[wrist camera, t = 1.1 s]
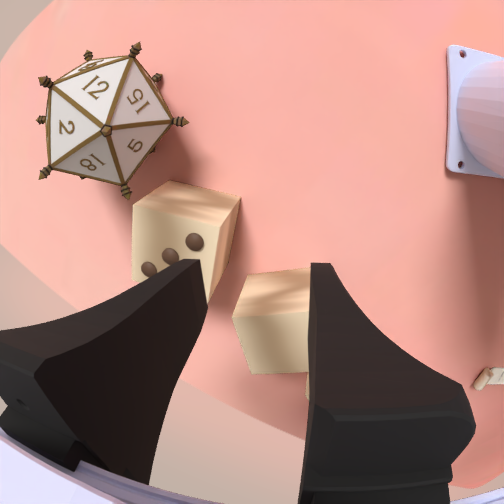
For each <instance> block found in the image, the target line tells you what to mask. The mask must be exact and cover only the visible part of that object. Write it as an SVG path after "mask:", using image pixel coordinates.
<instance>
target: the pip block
mask: <svg viewBox="0 0 504 504" xmlns="http://www.w3.org/2000/svg"><path fill="white" fill-rule="evenodd" d="M240 199H241V197H240V196H236V195H232V194H227V193H223V192H219V191H215V190H211V189H206V188H202V187H198V186H193V185H189V184H185V183H180V182H176V181H171V180H169V181H167V182H166V183H164V184H163V185H161V186H160V187H158V188H157V189H155V190H154V191H152V192H151V193H149V194H148V195H146V196H145V197H143V198H142V199H140V200H139V201H138V202H136V203H135V204H133V214H132V280H134V281H137V282H140V283H141V282H143V281H144V280H146V279H148V278H149V277H151V276H153V275H155V274H156V273H158V272H160V271H161V270H163V269H165V268H166V267H168V266H170V265H172V264H174V263H175V262H177V261H179V260H182V259H200V262H201V268H202V275H203V281H204V287H205V293H206V299H207V304H208V302H209V300H210V298H211V296H212V294H213V292H214V290H215V288H216V286H217V284H218V282H219V280H220V278H221V276H222V274H223V272H224V270H225V268H226V266H227V264H228V262H229V257H230V251H231V246H232V241H233V236H234V230H235V225H236V220H237V215H238V210H239V204H240Z"/></svg>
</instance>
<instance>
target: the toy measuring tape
mask: <svg viewBox="0 0 504 504" xmlns="http://www.w3.org/2000/svg"><path fill="white" fill-rule="evenodd" d="M486 384H491V385H492V384H504V368H499V367H497V368H496V367H493V368H492V369H491V370H490V369H489V368H488V367H486V368H485V369H484V370H483V372H482V373H481V374H480V376H479V377H478V378H477V379H476V381H475V382H474V388H475V389H476V390H482V389H483V388H484V387H485V385H486Z"/></svg>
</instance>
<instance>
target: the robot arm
mask: <svg viewBox="0 0 504 504" xmlns="http://www.w3.org/2000/svg"><path fill="white" fill-rule="evenodd" d="M460 51H462V52H463V53H464V58H462V57H461V56H460V54H459V52H460ZM447 67H448V135H447V153H446V167H447V168H448V169H449V170H450V171H452V172H457V173H465V174H474V175H481V176H489V177H496V178H503V179H504V58H503V57H499V56H496V55H493V54H489V53H486V52H482V51H478V50H475V49H471V48H467V47H462V46H458V45H450V46H448V48H447ZM460 161H462V167H461V168H458V163H459V162H460ZM207 310H208V305H207V299H206V293H205V287H204V281H203V275H202V268H201V262H200V259H182V260H179V261H177V262H175V263H174V264H172V265H170V266H168V267H166V268H165V269H163V270H161V271H160V272H158V273H156V274H155V275H153V276H151V277H149V278H148V279H146V280H144V281H143V282H141V283H139V284H137V285H136V286H134V287H132V288H130V289H128V290H126V291H125V292H123V293H121V294H119V295H117V296H115V297H113V298H111V299H109V300H107V301H105V302H103V303H100V304H98V305H96V306H94V307H91V308H89V309H86V310H83V311H81V312H78V313H75V314H72V315H69V316H66V317H63V318H60V319H57V320H53V321H50V322H46V323H41V324H37V325H33V326H27V327H22V328H15V329H8V330H1V331H0V396H1V398H2V399H3V400H4V402H5V403H6V404H7V405H8V407H7V408H6V409H5V411H4V412H3V413H2V415H1V416H0V504H223V503H217V502H212V501H207V500H202V499H198V498H193V497H189V496H185V495H181V494H177V493H173V492H170V491H166V490H162V489H159V488H155V487H152V486H149V480H150V475H151V470H152V465H153V460H154V456H155V452H156V448H157V443H158V439H159V435H160V432H161V428H162V425H163V421H164V418H165V415H166V411H167V408H168V405H169V402H170V399H171V396H172V393H173V390H174V388H175V385H176V383H177V380H178V378H179V376H180V374H181V372H182V370H183V368H184V366H185V364H186V362H187V360H188V358H189V356H190V353H191V351H192V349H193V347H194V345H195V343H196V341H197V339H198V337H199V334H200V332H201V329H202V326H203V323H204V320H205V317H206V313H207ZM308 365H309V411H308V422H307V432H306V442H305V451H304V459H303V468H302V475H301V483H300V491H299V498H298V504H504V487H503V488H499V489H496V490H493V491H490V492H486V493H483V494H479V495H475V496H471V497H467V498H463V499H459V500H454V501H450V497H449V488H448V483H450V482H451V481H452V478H453V475H452V468H451V464H452V463H453V462H454V461H455V459H456V458H457V457H458V456H459V455H460V454H461V452H462V451H463V450H464V449H465V448H466V446H467V445H468V444H469V442H470V441H471V439H472V437H473V436H474V434H475V429H476V423H475V420H474V416H473V413H472V409H471V406H470V403H469V400H468V398H467V396H466V394H465V391H464V389H463V387H462V385H461V384H459V383H457V382H455V381H454V380H452V379H450V378H448V377H446V376H444V375H442V374H440V373H438V372H436V371H434V370H433V369H431V368H429V367H428V366H426V365H425V364H423V363H421V362H420V361H418V360H417V359H415V358H414V357H412V356H411V355H409V354H408V353H407V352H405V351H404V350H403V349H401V348H400V347H399V346H398V345H396V344H395V343H394V342H393V341H391V340H390V339H389V338H388V337H387V336H385V335H384V334H383V333H382V332H381V331H380V330H379V329H378V328H377V327H376V326H375V325H374V324H373V323H372V322H371V321H370V320H369V319H368V318H367V316H366V315H365V314H364V313H363V312H362V310H361V309H360V308H359V307H358V305H357V304H356V303H355V301H354V300H353V299H352V297H351V296H350V294H349V293H348V292H347V290H346V289H345V287H344V286H343V284H342V282H341V281H340V279H339V277H338V276H337V274H336V272H335V270H334V268H333V266H332V265H331V264H330V263H311V270H310V298H309V320H308Z"/></svg>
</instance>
